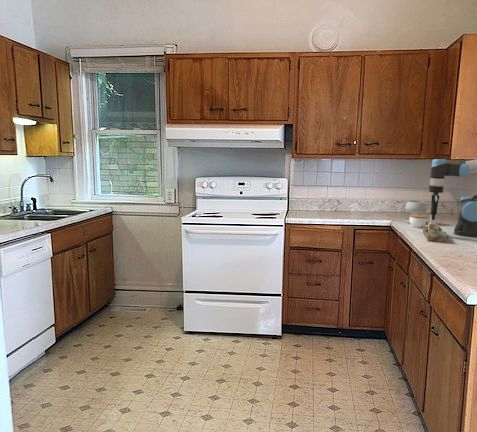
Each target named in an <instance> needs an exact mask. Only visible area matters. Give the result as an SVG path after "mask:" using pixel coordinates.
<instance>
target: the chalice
mask: <svg viewBox="0 0 477 432" xmlns="http://www.w3.org/2000/svg"><path fill="white" fill-rule="evenodd" d="M405 210H406V211H407V212H408V213H409V214H410V215H411V214H418V213H419V215H423V214H424V213H426V212H427V211H428V204H427V202H426V201H423V200H407V202H406V204H405ZM405 223H409V224H410V219H408V220H406V221H405Z"/></svg>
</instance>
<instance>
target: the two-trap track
mask: <svg viewBox="0 0 477 432" xmlns="http://www.w3.org/2000/svg"><path fill="white" fill-rule="evenodd" d="M422 234H423V235H424V237H425V239H426V241H427V242H431V243H432V242H434V243H444V242H445V243H446V240H447V231H444V230H442V228H441V226H439V225H438V227H437V231H431V230H428V226H426V224H425V225H423V227H422Z"/></svg>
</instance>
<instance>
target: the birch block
mask: <svg viewBox="0 0 477 432" xmlns="http://www.w3.org/2000/svg"><path fill="white" fill-rule="evenodd" d="M438 226H439V225H438V222H435V223H430V222H428V225H427V228H428V230H431V231H437V229H438Z"/></svg>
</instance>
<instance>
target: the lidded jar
mask: <svg viewBox="0 0 477 432" xmlns="http://www.w3.org/2000/svg"><path fill="white" fill-rule="evenodd" d="M409 220H410V223H409V224H410V225H411V226H412V228H416V227H417V228H418V229H419V228H420V229H421V228H422V229H423V225H425V226H426V224H427V220H428V215H425V214H420V215H419V213H418V214H411V213H410V214H409Z"/></svg>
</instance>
